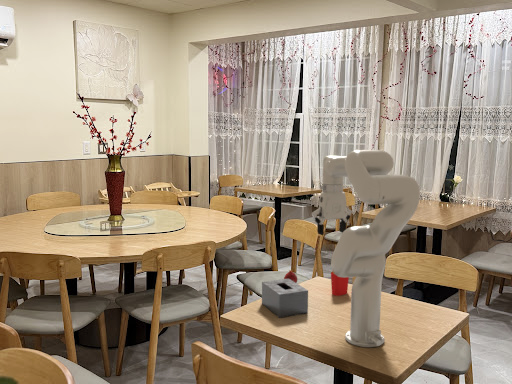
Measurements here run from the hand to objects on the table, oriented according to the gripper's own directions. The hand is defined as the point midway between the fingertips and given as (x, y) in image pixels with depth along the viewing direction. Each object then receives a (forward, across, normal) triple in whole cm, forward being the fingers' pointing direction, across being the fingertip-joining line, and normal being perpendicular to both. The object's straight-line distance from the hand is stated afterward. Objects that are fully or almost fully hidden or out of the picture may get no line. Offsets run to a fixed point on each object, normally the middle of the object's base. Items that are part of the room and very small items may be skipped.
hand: (331, 233), depth 188 cm
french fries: (+30, +14, +15) cm, 37 cm away
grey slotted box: (+30, -16, +8) cm, 35 cm away
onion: (+30, -2, +30) cm, 43 cm away
